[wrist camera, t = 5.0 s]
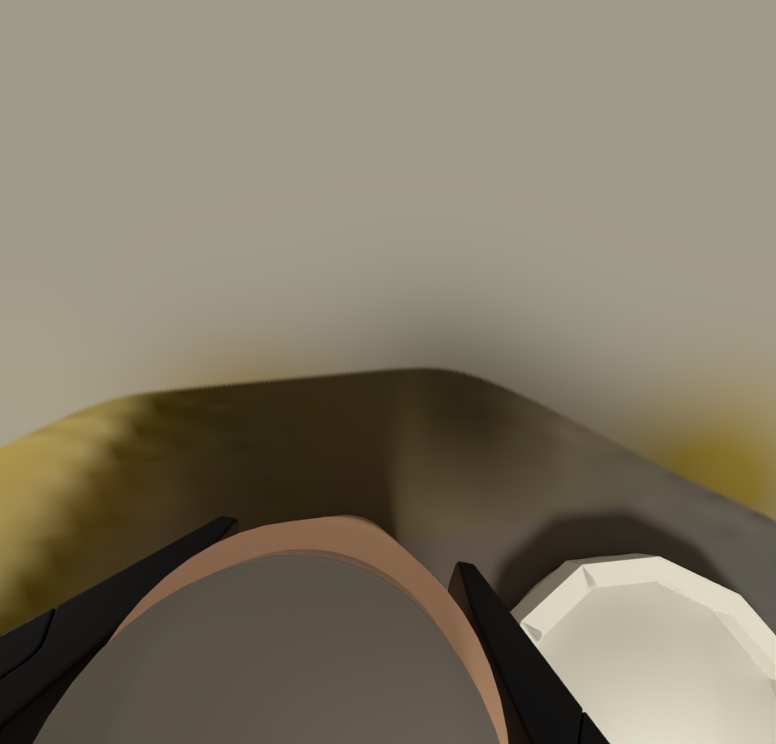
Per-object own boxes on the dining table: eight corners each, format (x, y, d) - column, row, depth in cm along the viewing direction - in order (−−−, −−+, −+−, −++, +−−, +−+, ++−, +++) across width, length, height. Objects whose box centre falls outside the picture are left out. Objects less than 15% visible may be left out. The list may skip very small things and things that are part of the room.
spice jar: (422, 589, 15) (687, 937, 3) (327, 668, 14) (48, 1840, 2) (361, 492, 16) (352, 431, 4) (268, 559, 15) (-156, 766, 3)
